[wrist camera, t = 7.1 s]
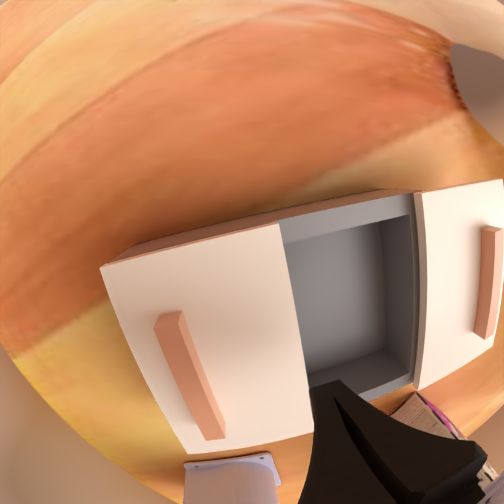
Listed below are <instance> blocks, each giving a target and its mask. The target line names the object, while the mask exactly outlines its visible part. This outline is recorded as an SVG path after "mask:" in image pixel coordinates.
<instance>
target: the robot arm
mask: <svg viewBox="0 0 504 504" xmlns="http://www.w3.org/2000/svg"><path fill="white" fill-rule="evenodd" d="M309 397H310V404H311V411H312V417H313V421H314V436H313V447H312V454H311V460H310V465H309V469H308V474H307V477H306V481H305V484H304V487H303V490H302V493H301V496H300V499H299V502H298V504H504V472H503V473H502V474H500V475H499V476H498V477H497V478H496V479H494V480H493V481H492V482H491V483H490V484H488V485H487V486H486V487H485V488H483V489H481V487H480V486H479V485H478V483H479V482H480V479H479V478H478V477H477V474H478V472H479V471H480V470H481V468H482V467H483V465H484V464H485V462H486V460H487V456H488V455H487V454H486V453H485V451H484V450H483V449H482V448H481V447H480V446H479V445H478V444H477V443H476V442H474V441H469V440H459V439H452V438H447V437H442V436H438V435H434V434H431V433H428V432H424V431H421V430H418V429H416V428H413V427H411V426H408V425H406V424H404V423H402V422H400V421H398V420H396V419H394V418H392V417H390V416H388V415H387V414H385V413H383V412H382V411H380V410H378V409H377V408H375V407H374V406H373V405H371V404H370V403H368V402H367V401H365V400H364V399H363V398H361V397H360V396H359V395H358V394H356V393H355V392H354V391H353V390H351V389H350V388H349V387H348V386H347V385H346V384H345V383H343V382H342V381H341V380H339V379H338V380H335V381H332V382H329V383H326V384H322V385H319V386H316V387H312V388H310V389H309ZM184 468H185V470H186V475H185V486H184V498H183V504H279V500H278V495H277V489H276V486H280V485H281V481H280V478H279V475H278V472H277V470H276V467H275V464H274V461H273V459H272V456H271V454H270V453H269V452H265V453H260V454H254V455H249V456H242V457H236V458H229V459H221V460H212V461H202V462H189V463H184Z"/></svg>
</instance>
